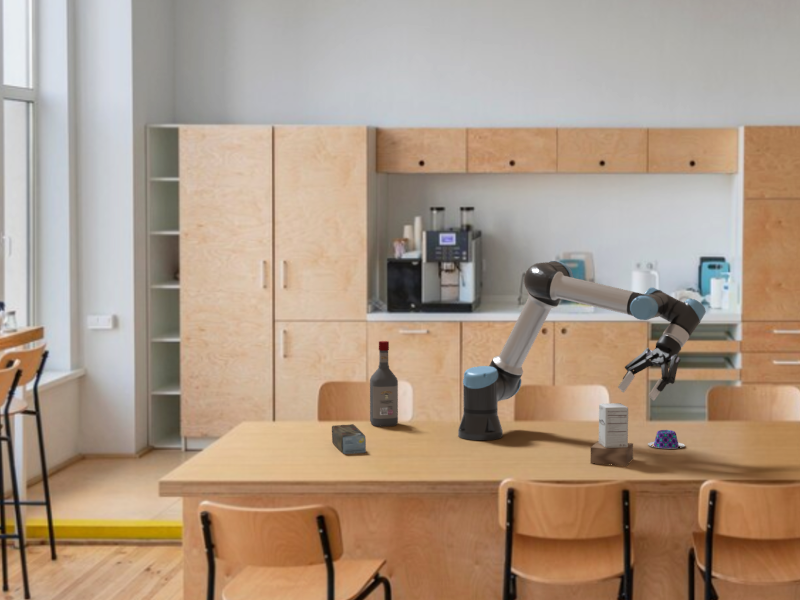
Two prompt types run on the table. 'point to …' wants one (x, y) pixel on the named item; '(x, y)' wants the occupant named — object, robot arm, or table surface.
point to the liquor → (383, 392)
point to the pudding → (666, 440)
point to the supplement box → (613, 425)
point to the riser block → (611, 454)
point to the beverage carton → (348, 439)
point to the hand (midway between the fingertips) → (635, 393)
